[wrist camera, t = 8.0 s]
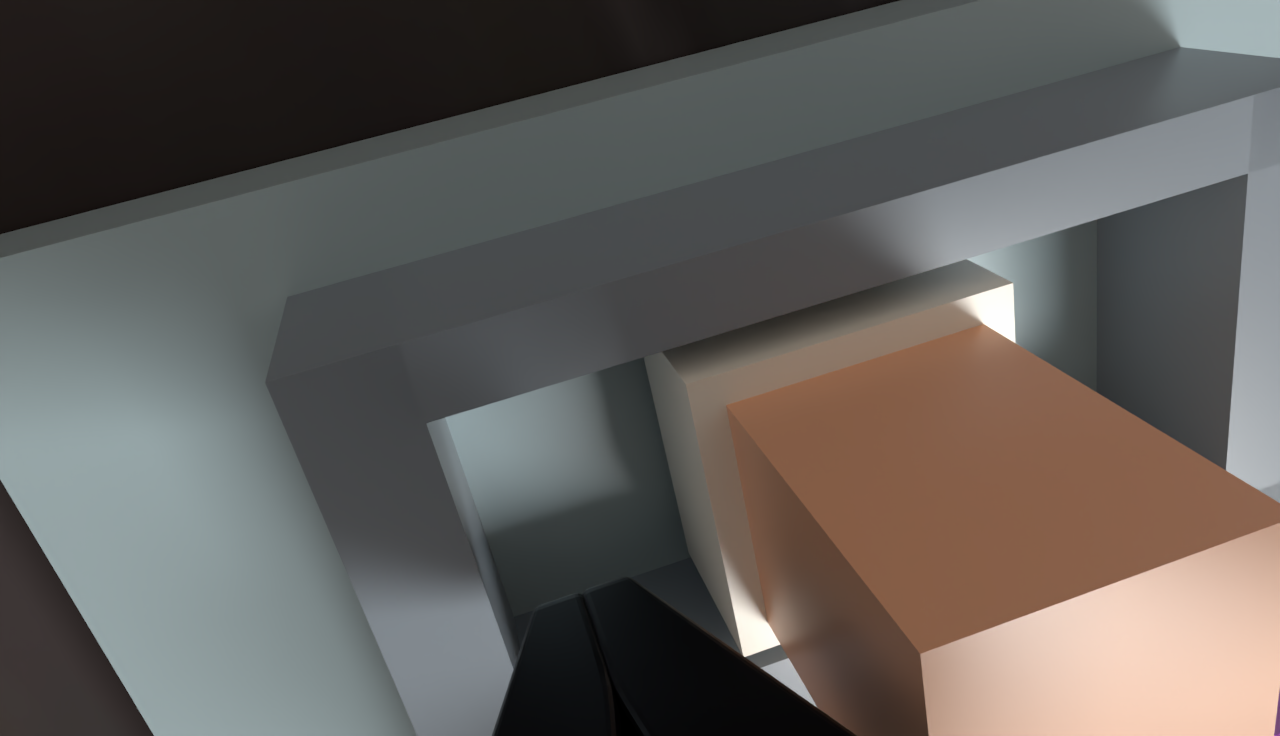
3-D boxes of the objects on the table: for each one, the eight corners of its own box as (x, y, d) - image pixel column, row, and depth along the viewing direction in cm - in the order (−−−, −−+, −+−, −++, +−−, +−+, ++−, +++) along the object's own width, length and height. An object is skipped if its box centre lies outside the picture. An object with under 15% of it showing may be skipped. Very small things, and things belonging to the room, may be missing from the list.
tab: (930, 471, 11) (1299, 814, 7) (688, 553, 11) (911, 977, 6) (909, 229, 10) (1349, 454, 5) (632, 311, 9) (864, 629, 5)
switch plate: (1177, 683, 16) (1348, 838, 13) (362, 997, 14) (359, 1256, 11) (1219, -83, 11) (1515, -96, 8) (-56, 248, 9) (-257, 383, 6)
